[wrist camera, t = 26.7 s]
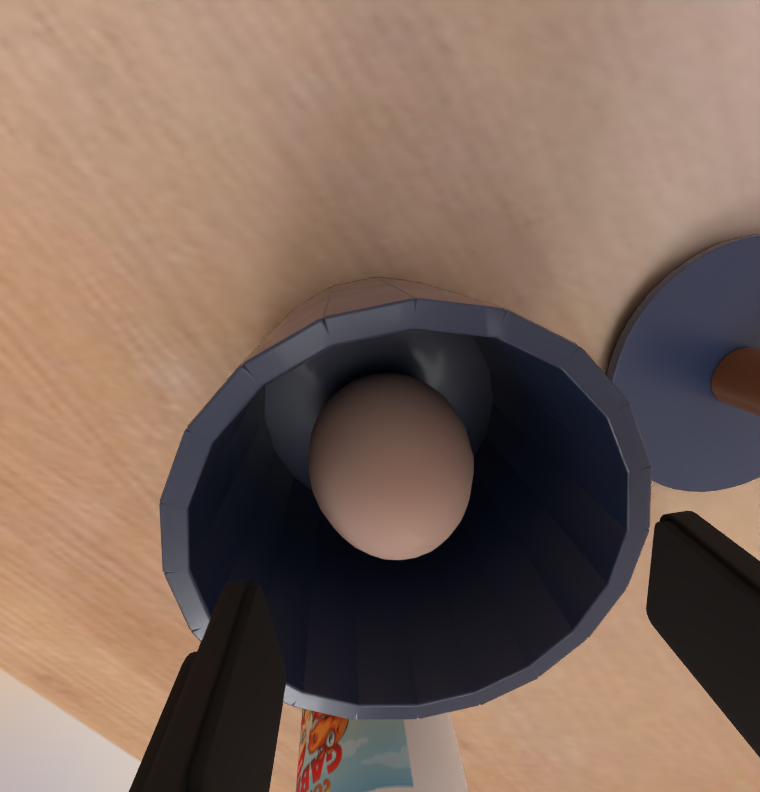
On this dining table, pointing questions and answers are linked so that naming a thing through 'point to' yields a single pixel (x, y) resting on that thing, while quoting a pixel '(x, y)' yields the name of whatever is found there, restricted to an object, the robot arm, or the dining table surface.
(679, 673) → the dining table surface
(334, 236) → the dining table surface
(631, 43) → the dining table surface
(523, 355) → the pot
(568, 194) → the dining table surface
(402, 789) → the milk bottle
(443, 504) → the egg
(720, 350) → the lid
